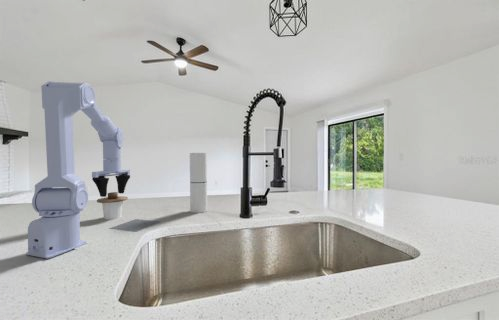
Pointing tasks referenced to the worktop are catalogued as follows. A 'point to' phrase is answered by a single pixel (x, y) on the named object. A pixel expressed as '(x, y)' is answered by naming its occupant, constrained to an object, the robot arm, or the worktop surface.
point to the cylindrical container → (198, 182)
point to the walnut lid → (112, 198)
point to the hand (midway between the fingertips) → (112, 194)
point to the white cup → (112, 210)
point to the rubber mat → (135, 225)
